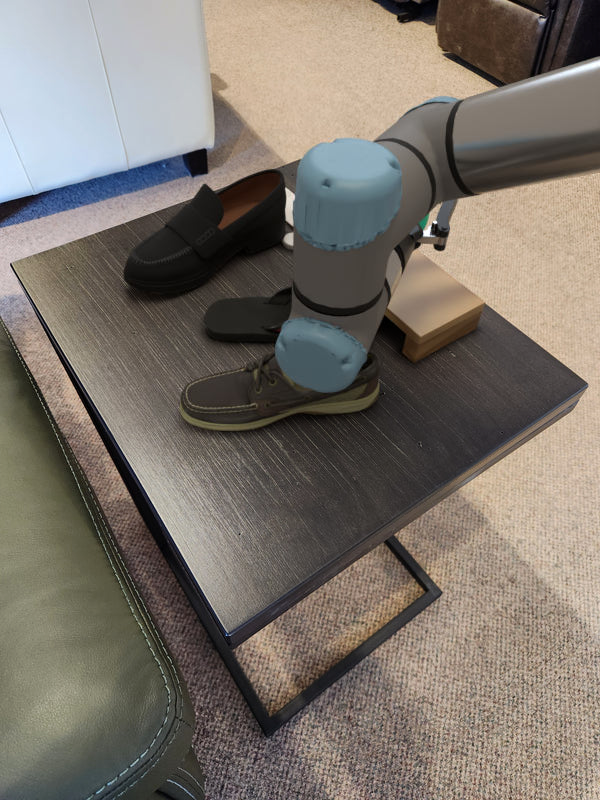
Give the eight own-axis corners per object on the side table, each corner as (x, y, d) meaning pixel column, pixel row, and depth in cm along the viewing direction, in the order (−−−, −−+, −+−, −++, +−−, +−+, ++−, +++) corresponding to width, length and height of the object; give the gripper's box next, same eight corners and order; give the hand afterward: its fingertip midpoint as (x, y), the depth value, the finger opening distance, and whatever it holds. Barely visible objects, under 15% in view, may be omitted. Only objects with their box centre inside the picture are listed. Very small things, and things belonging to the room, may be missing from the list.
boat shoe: (177, 388, 76) (168, 344, 70) (363, 359, 80) (371, 314, 74) (185, 446, 70) (176, 404, 64) (385, 411, 75) (395, 368, 68)
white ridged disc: (277, 239, 96) (277, 236, 96) (299, 232, 97) (299, 228, 97) (290, 252, 94) (290, 249, 93) (311, 245, 95) (312, 241, 95)
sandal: (388, 349, 81) (394, 319, 77) (203, 353, 80) (199, 322, 76) (379, 303, 87) (384, 272, 83) (207, 305, 86) (203, 274, 82)
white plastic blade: (310, 242, 96) (310, 237, 95) (260, 198, 103) (259, 192, 102) (335, 232, 98) (335, 226, 97) (284, 189, 105) (284, 183, 104)
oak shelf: (476, 328, 85) (485, 302, 81) (413, 363, 80) (420, 337, 76) (377, 248, 95) (381, 221, 92) (317, 275, 91) (318, 248, 87)
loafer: (112, 275, 89) (94, 203, 80) (267, 218, 101) (266, 148, 91) (142, 311, 84) (126, 238, 75) (301, 246, 96) (303, 176, 86)
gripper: (282, 269, 63) (351, 164, 77) (446, 314, 60) (487, 195, 73) (283, 207, 57) (357, 105, 71) (464, 253, 54) (505, 136, 68)
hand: (423, 151), depth 72 cm, fingers closed on candle, 5 cm apart
